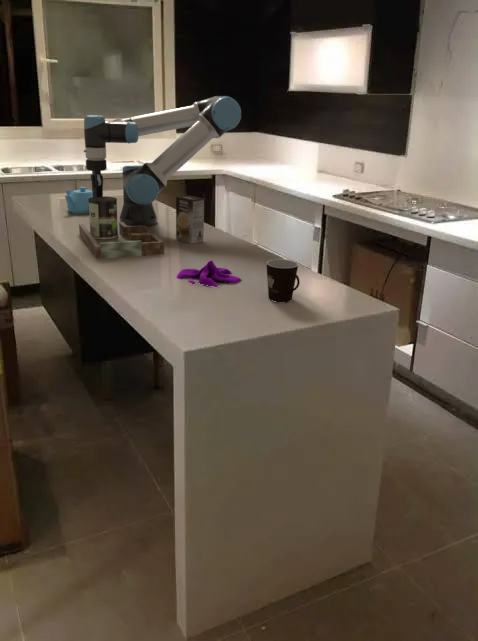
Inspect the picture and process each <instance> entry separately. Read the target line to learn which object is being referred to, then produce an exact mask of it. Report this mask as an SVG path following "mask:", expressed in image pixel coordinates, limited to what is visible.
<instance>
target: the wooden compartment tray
mask: <svg viewBox="0 0 478 641" xmlns="http://www.w3.org/2000/svg"><path fill="white" fill-rule="evenodd" d="M78 225H79V226H78V230H79V231H78V232H79V235H80V237H81V239H82V240H83V242H84V243H85V244H86V246H87V248H89V250H90V252H91V253H92V254H93V256H94V258H95V259H96V260H102V259H115V258H117V259H118V258H132V257H133V256H134V257H145V256H150V255H164V254H165V242H164V241H163V240H162V239H161V238H160V237H159V236H157V235H156V234H155V233H154V232H153V231H151V229H149V228H148V227H147V226H145V225H139V226H129V225H126V224H125V223H124V222H120V221H119V222H118V228H119V229H118V233H119V234H120V235H121V236H122V237H123V238H127V239H128V238H130V240H124V241H108V242H107V241H106V242H104V241H103V242H98V241H97V239H94V237H93V236H92V235H91V233H90V230H88V229H87V227H86V226H85V224H84V223H79V224H78Z"/></svg>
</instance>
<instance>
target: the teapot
mask: <svg viewBox="0 0 478 641" xmlns="http://www.w3.org/2000/svg"><path fill="white" fill-rule="evenodd" d="M65 192H66V195H64V197H65V200H66V203H67V204H66V205H67V206H66V208H67V210H68V211H69V212H70V213H71V212H72V213H71V214H75V215H76V214H77V215H89V201H88V198H91V197H93V194H92V189H91V190H90V189H87V187H86V186H80V187H79V189H75V190H73V191H72V190H71V189H66V190H65Z"/></svg>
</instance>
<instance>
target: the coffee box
mask: <svg viewBox="0 0 478 641" xmlns="http://www.w3.org/2000/svg"><path fill="white" fill-rule="evenodd" d="M204 223H205V198H203V197H199V196H195V195H191V194H185V195H179V196H175V240H177V241H181V242H184V243H188V244H191V245H192V244H193V243H194V244H197V243H202V242H204V236H205V235H204V231H205V230H204V229H205V228H204V227H205V224H204ZM194 244H193V245H194Z"/></svg>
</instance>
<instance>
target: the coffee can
mask: <svg viewBox="0 0 478 641" xmlns="http://www.w3.org/2000/svg"><path fill="white" fill-rule="evenodd" d="M88 201H89V214H88V215H89V232H90V233H91V235H92V236H93V237H94V239H95V240H113V239H117V238H118V237H119V234H118V233H119V229H118V228H119V225H118V206H117V205H118V204H117V201H118V198H116V197H113V196H103V197H91V198H88Z"/></svg>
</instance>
